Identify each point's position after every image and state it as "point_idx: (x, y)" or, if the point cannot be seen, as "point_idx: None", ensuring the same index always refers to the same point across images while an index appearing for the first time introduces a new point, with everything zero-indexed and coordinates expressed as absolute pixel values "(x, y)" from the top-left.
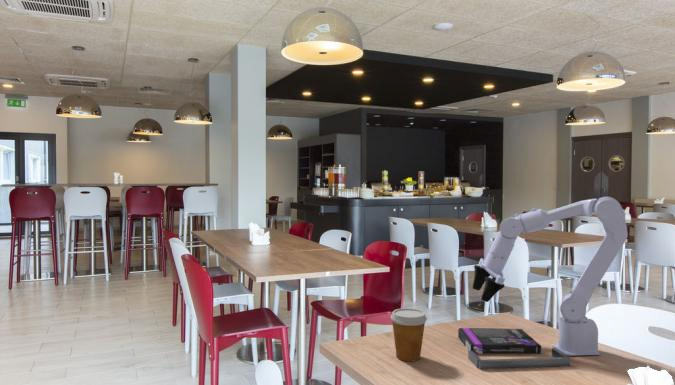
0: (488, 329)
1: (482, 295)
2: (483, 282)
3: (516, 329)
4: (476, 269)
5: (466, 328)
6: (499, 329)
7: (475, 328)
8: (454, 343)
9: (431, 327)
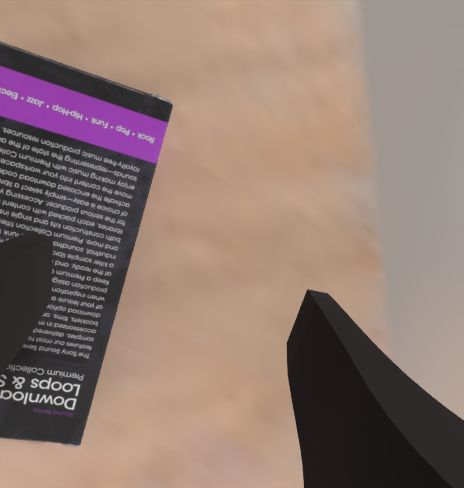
0: (102, 263)
1: (12, 246)
2: (303, 437)
3: (74, 415)
4: (440, 470)
5: (150, 144)
6: (90, 324)
7: (138, 198)
8: (72, 22)
9: (340, 57)
